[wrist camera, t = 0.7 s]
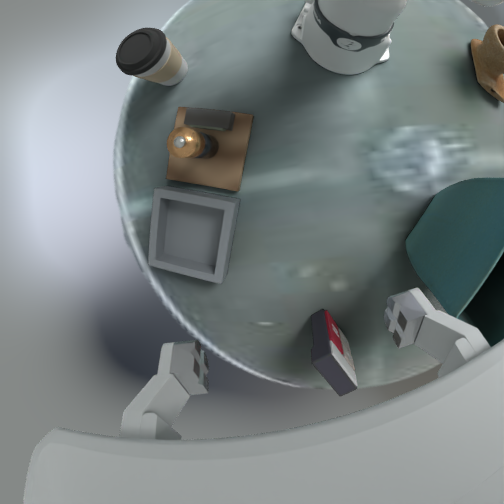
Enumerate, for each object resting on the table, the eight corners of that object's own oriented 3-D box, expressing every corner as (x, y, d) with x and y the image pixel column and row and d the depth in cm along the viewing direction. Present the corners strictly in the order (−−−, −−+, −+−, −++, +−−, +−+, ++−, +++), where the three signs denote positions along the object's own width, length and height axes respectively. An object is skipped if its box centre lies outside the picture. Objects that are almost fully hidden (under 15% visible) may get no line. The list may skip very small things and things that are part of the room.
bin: (166, 185, 50) (154, 188, 45) (240, 199, 49) (235, 203, 44) (159, 256, 55) (148, 265, 50) (227, 273, 54) (221, 284, 49)
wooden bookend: (459, 32, 29) (492, 10, 15) (494, 52, 28) (529, 38, 14) (466, 85, 34) (507, 72, 20) (501, 105, 33) (542, 99, 19)
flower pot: (433, 162, 41) (538, 175, 15) (485, 223, 43) (573, 269, 16) (379, 243, 48) (452, 322, 21) (437, 294, 49) (504, 374, 23)
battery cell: (197, 133, 45) (167, 125, 33) (220, 136, 45) (197, 127, 33) (193, 156, 46) (162, 156, 34) (216, 160, 46) (191, 159, 34)
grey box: (349, 340, 55) (361, 387, 41) (332, 349, 57) (340, 397, 43) (325, 305, 53) (334, 351, 39) (308, 316, 55) (311, 363, 41)
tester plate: (181, 108, 45) (171, 103, 41) (253, 116, 44) (250, 111, 40) (169, 178, 50) (158, 180, 45) (239, 190, 49) (234, 193, 44)
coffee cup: (166, 47, 41) (129, 19, 27) (201, 58, 41) (170, 27, 27) (144, 83, 44) (100, 65, 30) (178, 97, 44) (139, 77, 30)
